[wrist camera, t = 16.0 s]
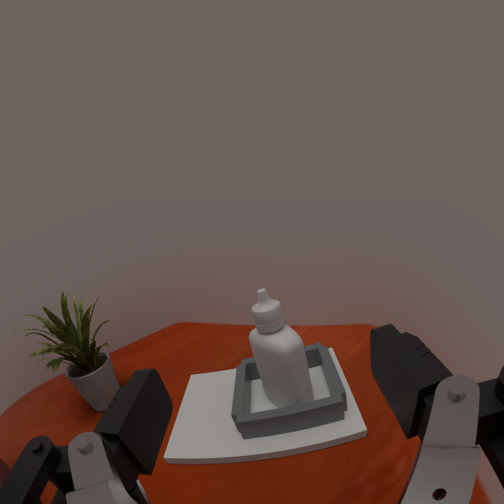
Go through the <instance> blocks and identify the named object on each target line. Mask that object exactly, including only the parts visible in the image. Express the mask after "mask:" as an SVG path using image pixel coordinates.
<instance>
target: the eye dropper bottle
mask: <svg viewBox="0 0 504 504" xmlns="http://www.w3.org/2000/svg"><path fill="white" fill-rule="evenodd" d="M257 293H258V303H257V304H255V305H254V306H253V307H252V314H253V318H254V321H255V325H256V328H255V329H253V330H252V331H251V332H250V334H249V342H250V345H251V349H252V352H253V356H254V359H255V362H256V365H257V369H258V372H259V375H260V378H261V382H262V385H263V388H264V391H265V393H266V395H267V397H268V398H269V400H270V401H271V402H272V403H273V404H275V405H276V406H278V407H280V408H283V407H288V406H293V405H297V404H302V403H306V402H310V401H313V400H314V395H313V389H312V384H311V379H310V373H309V368H308V363H307V358H306V353H305V349H304V345H303V342H302V340H301V338H300V337H299V335H298V334H297V333H296V332H295V331H294V330H293V329H292V328H290V327H289V326H287V325H285V324H284V318H283V315H282V310H281V306H280V302H279V301H277V300H272V299H270V297H269V295H268V293H267V291H266V289H260V290H258V291H257Z"/></svg>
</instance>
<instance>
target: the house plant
mask: <svg viewBox="0 0 504 504" xmlns="http://www.w3.org/2000/svg"><path fill="white" fill-rule="evenodd" d="M67 296H68V295H66V296H65V298H64V295H63V293H62V296H61V307H62V313H63V317H64V321H65V324H66V326H65V324H64V323H63V322H62V321H61V320H60V319H59V318H58V317H57V316H55V315H54V314H53V313H52V312H50V311H49V310H48V309H46V308H45V307H43V308H44V311H45V313H46V314H47V315H48V317H49V318H50V320H51V321H52V322H53V323H54V324H55V326H54V325H53V324H52V323H51V322H50V321H48V320H47V319H43V318H41V317H39V316H36V315H30V316H33V317H36V318H37V319H39V320H40V321H41V322H42V323H44V324H45V325H46V326H44V327H46V328H48V329H49V331H50V333H52V334H54V335H55V336H57V337H58V339H59V340H61V341H62V342H64V343H63V344H57V343H56V342H54V341H53V340H51V339H50V338H48V337H46V336H45V335H43V334H40V333H36V334H39V335H42V336H44V337H46V338H47V339H49V340H51V341H52V342H54V343H55V344H57V345H50V344H48V343H41V344H44V345H46V346H47V347H45V348H43V349H40V350H38V351H36V352H35V353H33V354H31V355H30V356H37V355H40V354H43V355H44V354H45V353H58V354H60V355H62V356H64V357H60V358H58V359H54V360H51V361H50V362H49V363H48V364H47V367H46V371H47V369H48V368H49V367H51V365H52V370H53V374H54V373H55V371H56V370H57V368H58V367H59V365H60V363H61V361H62V360H63V359H64V360H68V361H71V362H72V363H71V364H70V365H69V366H68V367H67V369H66V372H65V375H66V376H67V378H68V379H69V380H70V382H71V383H72V384H73V385H74V387H75V388H76V389H77V390H78V391H79V393H80V394H81V395H82V396H83V397H84V398H85V400H86V401H87V402H88V403H89V404H90V405H91V406H92V407H93V409H94V410H96V411H106V409H107V408H108V406H109V404H110V402H111V401H113V397H114V396H115V394H116V392H117V391H118V390H119V389H120V386H119V383H118V381H117V378H116V375H115V372H114V369H113V366H112V363H111V360H110V357H109V354H107V353H106V352H103V351H99V350H100V348H101V347H102V346H108V343H104V344H103V345H102V346H99V347H97V348H96V349H95V343H96V341H95V340H94V338H95V335H96V333H97V331H98V330H99V328H100V327H101V326H102V325H103V324H104V323H106V322H108V321H105V322H103V323H102V324H100V326H99V327H98V328H97V329H96V331H95V333H94V336H93V339H90V343H91V344H90V348H89V329H90V321H91V317H92V314H93V310H94V306H95V304H96V302H97V301H96V302H95V303H94V306H93V309H92V313H91V316H90V320H89V315H90V310H91V307H92V306H90V307H89V308H88V310H87V311H86V313H85V315H84V310H83V305H82V301H81V298H80V308H79V311H80V320H79V313H78V306H77V302H76V299H75V297H74V296H73V301H74V304H73V305H74V310H75V317H76V324H77V329H75V327H74V324H73V322H72V320H71V317H70V313H69V310H68V306H67ZM25 316H26V315H25ZM28 316H29V315H28ZM46 321H47V322H48V323H47V322H46ZM80 322H81V326H80ZM24 330H31V329H24ZM35 330H37V329H35ZM20 331H23V330H20ZM40 331H41V330H40ZM17 332H19V331H17ZM46 333H47V332H46ZM30 334H32V333H30ZM48 334H49V333H48ZM27 335H28V334H27ZM57 337H56V338H57ZM108 347H109V346H108ZM90 349H91V350H90ZM90 351H91V353H90ZM62 352H64V353H66V354H68V355H69V356H68V355H66V354H64V353H62ZM71 353H72V354H74V355H75V356H76V357H74V356H73V355H72V354H71ZM42 359H46V358H42ZM47 359H48V358H47ZM40 360H41V359H40Z"/></svg>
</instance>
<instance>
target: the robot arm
mask: <svg viewBox="0 0 504 504" xmlns="http://www.w3.org/2000/svg"><path fill="white" fill-rule="evenodd" d="M370 342H371V369H372V373H373V376H374V378H375V380H376V382H377V384H378V386H379V387H380V389H381V391H382V393H383V395H384V396H385V398H386V400H387V402H388V404H389V406H390V407H391V409H392V411H393V413H394V415H395V417H396V418H397V420H398V422H399V424H400V426H401V428H402V430H403V432H404V434H405V435H406V437H407V439H410V438H412V437H414V436H417V435H418V436H419V438H420V439H421V443H420V446H419V449H418V452H417V455H416V458H415V461H414V464H413V466H412V469H411V472H410V474H409V477H408V479H407V482H406V484H405V487H404V489H403V491H402V493H401V496H400V498H399V500H398V502H397V504H469V502H470V498H471V494H472V491H473V486H474V482H475V478H476V473H477V468H478V462H479V456H480V449H479V447H475V445H478V444H479V445H480V446H481V448H482V450H483V451H484V453H485V455H486V456H487V458H488V460H489V462H490V464H491V466H492V467H493V469H494V471H495V473H496V475H497V477H498V479H499V481H500V482H501V484H502V486H503V488H504V366H503V367H502V369H501V372H500V374H499V377H498V378H496V379H492V380H488V381H485V382H481V383H476V382H475V381H474V380H473V379H471V378H470V377H467V376H462V375H455V376H453V375H452V373H451V372H450V371H449V370H448V369H447V368H446V367H445V366H444V365H443V364H442V363H441V362H440V360H439V359H438V358H437V357H436V356H435V355H434V354H433V353H431V351H430V350H429V349H428V348H427V347H425V345H424V343H423V342H422V341H421V340H420V339H419V338H418V337H416V336H414V335H411V334H409V333H407V332H405V333H403V334H400V332H399V331H398V330H397V329H396V328H395V327H394V326H393V325H392V324H387V325H384V326H381V327H378V328H375V329H372V330H371V333H370ZM172 409H173V406H172V401H171V398H170V396H169V394H168V392H167V390H166V388H165V386H164V384H163V382H162V380H161V378H160V376H159V374H158V372H157V371H156V370H155V369H142V370H136V371H135V372H134V373H133V375H132V377H131V378H130V380H129V382H127V383H125V384H124V385H123V386H122V387H121V388H120V389H119V390H118V391H117V392H116V394H115V396H114V397H113V401H111V402H110V404H109V406H108V408H107V409H106V411H105V412H104V414H103V416H102V417H101V419H100V421H99V422H98V424H97V426H96V428H95V429H94V431H93V432H85V433H82V434H80V435H78V436H76V437H75V438H74V439H73V440H72V441H71V442H70V444H69V446H55V445H54V444H53V442H52V441H51V440H50V439H49V438H48V437H46V436H38V437H36V438H34V439H32V440H31V441H30V442H29V443H28V444H27V445H26V447H25V448H24V450H23V451H22V453H21V455H20V456H19V458H18V459H17V461H16V463H15V464H14V466H13V467H12V469H10V468H9V467H8V466H7V465H6V464H5V463H4V462H3V460H2V459H1V458H0V504H41V502H40V497H41V494H42V492H43V490H44V488H45V486H46V484H47V482H48V480H49V481H50V482H51V483H52V484H53V485H54V486H56V487H57V488H58V490H57V492H56V494H55V496H54V498H53V501H52V503H51V504H151V502H150V500H149V498H148V496H147V495H146V493H145V491H144V489H143V487H142V485H141V483H140V482H139V480H138V479H137V478H138V475H139V474H145V475H152V472H153V469H154V466H155V462H156V459H157V456H158V453H159V450H160V447H161V444H162V441H163V438H164V435H165V432H166V429H167V426H168V423H169V420H170V417H171V414H172Z"/></svg>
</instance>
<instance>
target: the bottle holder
mask: <svg viewBox="0 0 504 504" xmlns="http://www.w3.org/2000/svg"><path fill="white" fill-rule="evenodd" d="M304 349H305V353H306V358H307V363H308V368H309V373H310V379H311V384H312V389H313V395H314V400H313V401H310V402H306V403H302V404H297V405H293V406H288V407H283V408H280V407H278V406H276V405H275V404H273V403H272V402H271V401H270V400H269V398H268V397H267V395H266V393H265V391H264V388H263V385H262V382H261V378H260V375H259V372H258V369H257V365H256V362H255V359H254V357H253V358H248V359H243V360H242V362H241V365H237V368H236V369H231V370H225V371H218V372H211V373H204V374H196V375H191V377H190V380H189V383H188V386H187V389H186V392H185V395H184V398H183V401H182V404H181V407H180V410H179V413H178V416H177V419H176V422H175V425H174V428H173V431H172V434H171V437H170V440H169V443H168V446H167V449H166V452H165V455H164V459H165V460H166V461H167V463H168V464H219V463H235V462H246V461H256V460H264V459H271V458H278V457H284V456H290V455H295V454H301V453H306V452H310V451H315V450H319V449H323V448H327V447H331V446H335V445H339V444H343V443H346V442H350V441H353V440H356V439H359V438H363V437H366V436H367V428H366V426H365V424H364V421H363V419H362V416H361V414H360V411H359V409H358V407H357V404H356V402H355V400H354V397H353V395H352V392H351V390H350V388H349V385H348V383H347V381H346V378H345V376H344V374H343V372H342V369H341V367H340V365H339V362H338V360H337V358H336V356H335V353H334V351H333V349H332V348H328V347H327V346H324V347H322V345H321V342H320V343H316V344H312V345H308V346H304Z"/></svg>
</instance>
